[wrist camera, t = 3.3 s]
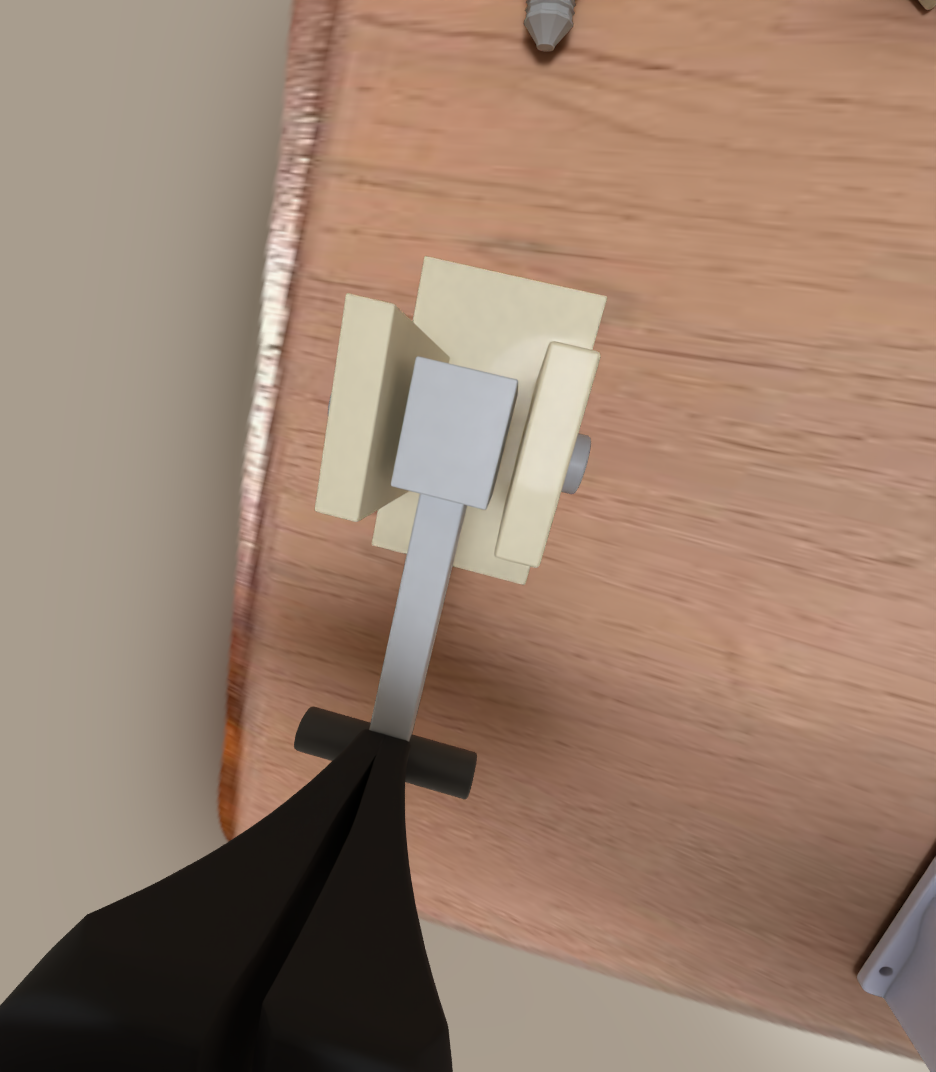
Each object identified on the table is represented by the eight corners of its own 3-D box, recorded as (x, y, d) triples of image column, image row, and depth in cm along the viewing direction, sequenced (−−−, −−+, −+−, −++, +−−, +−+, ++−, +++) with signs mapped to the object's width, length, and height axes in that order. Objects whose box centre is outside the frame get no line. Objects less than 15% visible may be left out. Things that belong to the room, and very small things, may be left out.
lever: (471, 763, 14) (462, 829, 12) (318, 720, 14) (279, 775, 12) (571, 405, 11) (585, 395, 9) (384, 360, 12) (351, 339, 9)
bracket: (524, 577, 18) (527, 689, 10) (379, 538, 18) (276, 620, 10) (602, 304, 15) (683, 183, 8) (430, 266, 15) (342, 112, 8)
